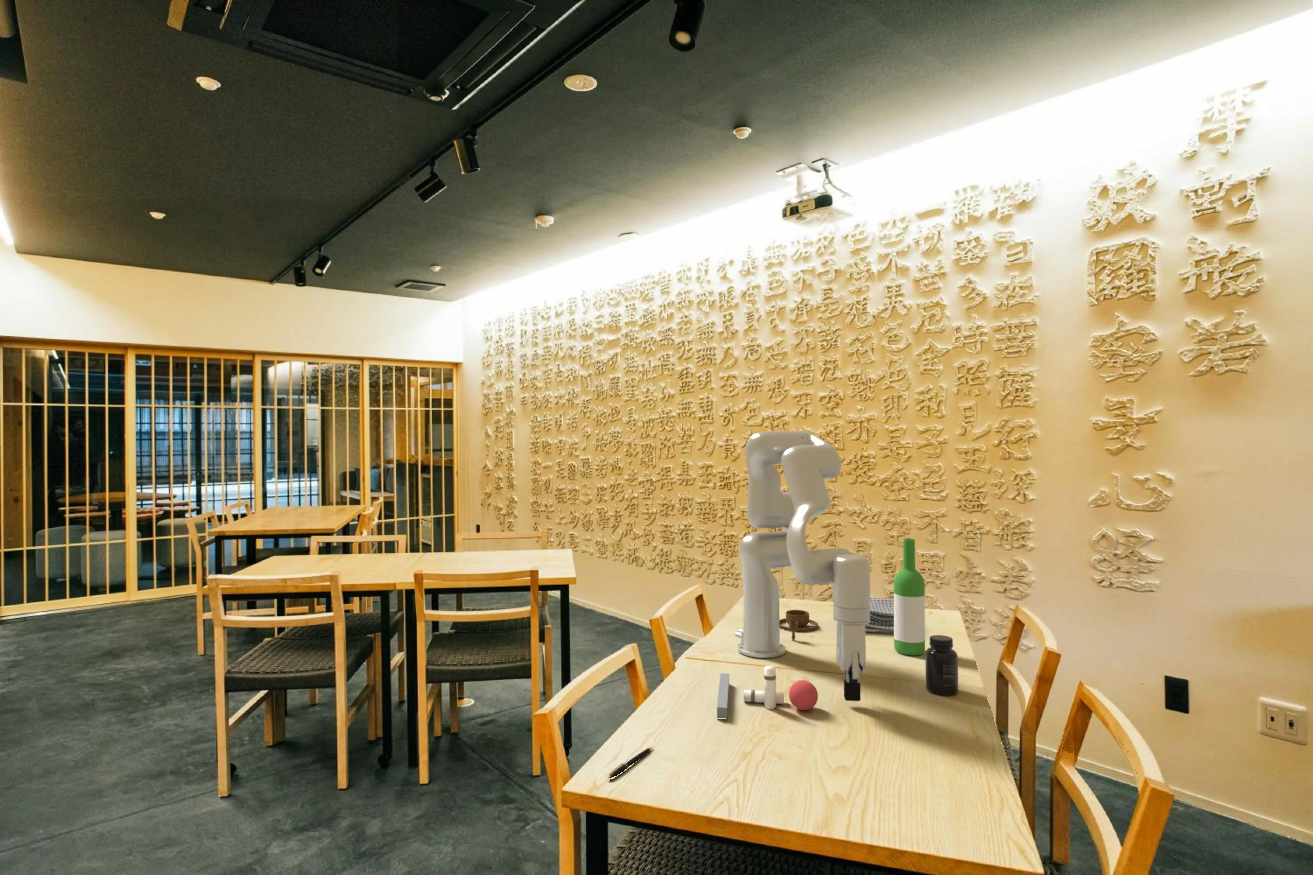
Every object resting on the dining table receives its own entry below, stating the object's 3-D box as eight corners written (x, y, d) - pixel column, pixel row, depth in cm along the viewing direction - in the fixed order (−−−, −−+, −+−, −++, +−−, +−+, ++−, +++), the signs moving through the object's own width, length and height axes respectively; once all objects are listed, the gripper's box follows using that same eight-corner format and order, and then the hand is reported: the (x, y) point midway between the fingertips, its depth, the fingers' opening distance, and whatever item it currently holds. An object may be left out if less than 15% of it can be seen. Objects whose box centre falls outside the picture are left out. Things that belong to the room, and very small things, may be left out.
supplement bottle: (958, 687, 156) (958, 635, 156) (958, 698, 150) (957, 643, 150) (926, 683, 159) (926, 631, 159) (924, 693, 153) (924, 639, 153)
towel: (841, 619, 215) (841, 594, 215) (902, 622, 211) (902, 597, 211) (843, 632, 201) (843, 606, 201) (909, 636, 197) (909, 609, 197)
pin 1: (783, 705, 148) (744, 702, 149) (783, 693, 149) (744, 691, 151) (783, 702, 146) (743, 699, 147) (783, 690, 147) (744, 687, 149)
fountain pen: (650, 749, 128) (650, 740, 128) (656, 750, 127) (656, 742, 127) (605, 782, 115) (605, 773, 115) (611, 784, 115) (611, 775, 115)
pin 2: (761, 706, 146) (761, 667, 146) (769, 704, 148) (769, 664, 147) (770, 710, 144) (770, 670, 144) (778, 707, 146) (778, 667, 145)
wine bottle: (912, 658, 177) (911, 542, 176) (887, 650, 183) (887, 538, 183) (931, 653, 181) (931, 539, 180) (906, 645, 187) (906, 535, 187)
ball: (800, 675, 143) (825, 685, 144) (787, 676, 148) (812, 685, 149) (794, 704, 140) (819, 714, 141) (781, 704, 146) (806, 714, 146)
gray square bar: (720, 683, 160) (720, 673, 160) (729, 684, 159) (729, 673, 159) (717, 719, 140) (716, 707, 140) (726, 719, 139) (726, 707, 139)
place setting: (834, 630, 204) (834, 610, 204) (796, 645, 190) (796, 624, 190) (785, 619, 217) (785, 600, 217) (746, 632, 203) (746, 612, 203)
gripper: (829, 604, 154) (829, 685, 154) (838, 622, 139) (838, 712, 139) (863, 605, 153) (864, 687, 153) (876, 623, 138) (877, 714, 138)
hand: (852, 699), depth 146 cm, fingers closed
